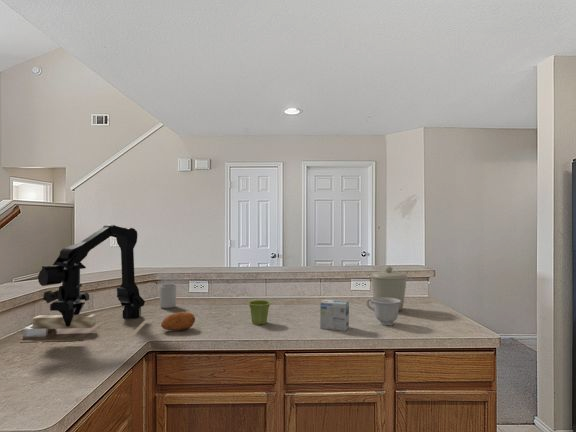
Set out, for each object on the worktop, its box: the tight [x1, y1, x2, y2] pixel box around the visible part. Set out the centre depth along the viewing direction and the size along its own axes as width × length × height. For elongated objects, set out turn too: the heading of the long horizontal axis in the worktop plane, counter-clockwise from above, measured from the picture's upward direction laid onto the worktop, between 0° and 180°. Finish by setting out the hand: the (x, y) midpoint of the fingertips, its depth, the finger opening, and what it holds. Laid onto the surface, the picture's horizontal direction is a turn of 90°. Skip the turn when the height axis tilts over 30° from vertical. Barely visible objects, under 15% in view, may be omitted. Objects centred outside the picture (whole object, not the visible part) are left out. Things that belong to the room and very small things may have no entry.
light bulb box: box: [319, 299, 350, 332], centre depth 157 cm, size 11×7×11 cm, turn 71°
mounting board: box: [19, 321, 105, 344], centre depth 147 cm, size 21×21×2 cm
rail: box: [32, 313, 97, 329], centre depth 141 cm, size 20×4×4 cm, turn 96°
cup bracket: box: [22, 323, 57, 339], centre depth 140 cm, size 8×8×3 cm
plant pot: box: [248, 299, 271, 326], centre depth 163 cm, size 9×9×9 cm
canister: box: [369, 265, 409, 312], centre depth 190 cm, size 18×18×21 cm
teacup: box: [365, 297, 401, 326], centre depth 164 cm, size 12×15×10 cm
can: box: [159, 282, 177, 310], centre depth 192 cm, size 8×8×12 cm
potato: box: [160, 311, 196, 331], centre depth 152 cm, size 7×13×7 cm, turn 112°
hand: (70, 324), depth 142 cm, fingers closed on rail, 4 cm apart
